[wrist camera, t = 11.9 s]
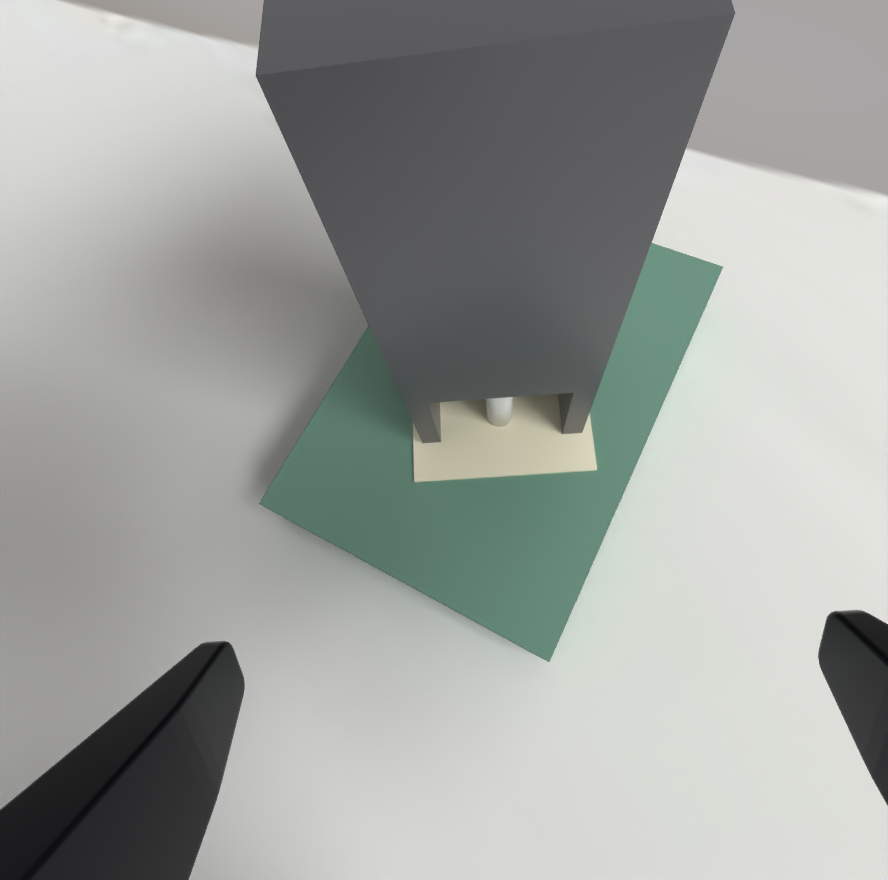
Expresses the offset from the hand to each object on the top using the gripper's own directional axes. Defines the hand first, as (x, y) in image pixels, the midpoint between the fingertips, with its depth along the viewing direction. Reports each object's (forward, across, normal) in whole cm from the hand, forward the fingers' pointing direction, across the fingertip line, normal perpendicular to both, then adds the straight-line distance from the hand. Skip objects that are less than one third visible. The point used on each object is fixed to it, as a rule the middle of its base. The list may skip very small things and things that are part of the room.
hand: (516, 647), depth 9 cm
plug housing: (+11, 0, 0) cm, 11 cm away
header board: (+12, 0, +1) cm, 12 cm away
